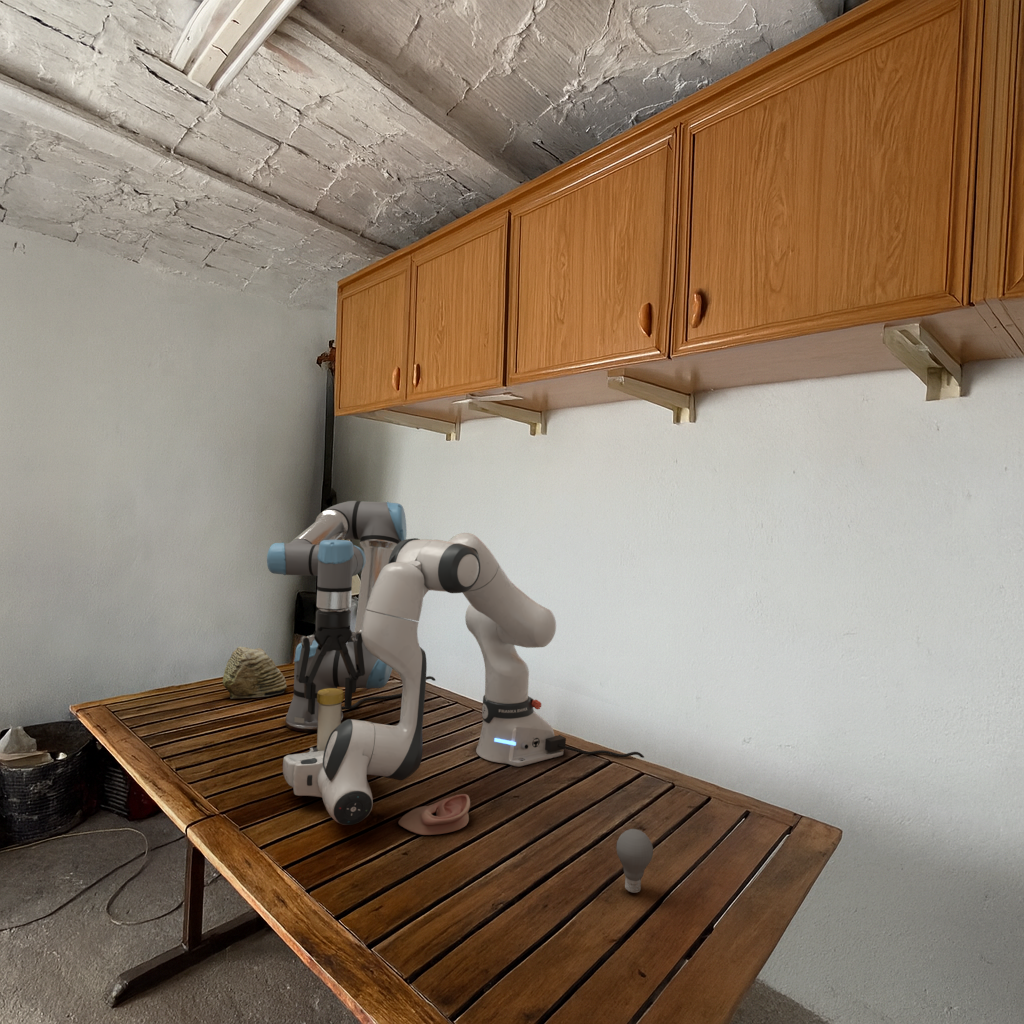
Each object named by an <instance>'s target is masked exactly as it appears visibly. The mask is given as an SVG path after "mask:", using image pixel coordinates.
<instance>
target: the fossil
mask: <svg viewBox="0 0 1024 1024" xmlns="http://www.w3.org/2000/svg"><path fill="white" fill-rule="evenodd" d="M222 676H223V677H222V685H223V687H224V688H225V690H226V691H228V693H229V698H230V699H250V698H264V697H271V696H275V695H281V694H284V693H285V691H286V689H287V687H288V686H287V680H286V678H285V676H284V674H283V673H282V672H281V669H279V668H278V667H277V665H276V663H275V662H274V660H273V659H272V658H271V657H270V656H269V655H268V654H267V653H266V652H265V650H264V649H263V648H260V647H258V648H251V647H247V646H246V647H245V646H238V647H237V648H236V649H235V650H233V651H232V653H231V656H230V657H229V659H228V660H227V663H226V666H225V668H224V671H223V675H222Z"/></svg>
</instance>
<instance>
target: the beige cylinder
mask: <svg viewBox="0 0 1024 1024" xmlns="http://www.w3.org/2000/svg"><path fill="white" fill-rule="evenodd" d="M342 702H343V701H342ZM342 702H341V703H338V704H332V705H325V704H320V703H319V705H318V731H317V732H316V733H317V734H316V747H317V749H318V751H324V750H325V747H326V744H327V741H328V738H329V736H330V734H331V733H332V731H333V730H334V729H335V728H336V727H337V726H339V725H340V724H341V706H343V704H342Z"/></svg>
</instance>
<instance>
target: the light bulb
mask: <svg viewBox="0 0 1024 1024" xmlns="http://www.w3.org/2000/svg"><path fill="white" fill-rule="evenodd" d="M615 849H616V854H617V857H618V859H619V861H620V863H621V865H622V867H623V873H624V874H623V875H624V876H625V878H624V888H625V890H627V891H628V892H630V893H634V894H635V893H639V892H640V891H641V889H642V887H641V886H642V879H643V877H644V875H645V871H646V868H647V867H648V866H649V864H650V863H651V861H652V859H653V855H654V847H653V843H652V841H651V838H649V836H648V835H647V834H646V833H645V832H643V831H642V830H641V829H636V828H629V829H627V830H625V831H623V832H622V833H621V834H620V835H619V837H618V839H617V841H616V847H615Z"/></svg>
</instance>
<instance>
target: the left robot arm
mask: <svg viewBox="0 0 1024 1024" xmlns="http://www.w3.org/2000/svg"><path fill="white" fill-rule="evenodd" d="M407 533H408V532H407V519H406V513H405V509H404V506H403V505H402V504H400V503H398V502H391V501H368V500H367V501H366V500H365V501H364V500H347V501H344V502H343V501H342V502H340V503H337V504H333V505H332V506H329V507H327V508H325V509H324V510H322V512H320V513H319V514H318V515H317V516H316V518H315V520H314V522H313V523H312V524H311V525H310V526H308V527H307V528H306V529H304V530H303V531H302V532H301V533H300V534H298V535H297V536H296V537H295V538H293V539H292V540H291V541H289V542H275V543H272V544H271V545H270V547H269V548H268V551H267V554H266V555H267V556H266V565H267V569H268V571H269V572H270V573H271V574H274V575H284V576H308V577H310V576H311V577H317V588H316V608H317V610H316V611H315V629H314V632H313V634H310V635H307V636H306V635H302V636H301V637H300V643H298V644H297V645H296V648H295V655H294V660H293V662H294V672H293V695H292V696H293V697H292V699H291V702H290V704H289V708H288V711H287V713H286V715H285V726H286V728H287V729H289V730H291V731H294V732H295V731H296V732H301V733H317V731H318V705H319V703H318V702H317V694H318V691H319V690H322V689H327V688H337V689H338V688H344V702H343V703H344V705H342V706H341V723H342V722H344V714H343V711H344V710H353V709H355V708H356V707H358V706H359V705H361V704H362V703H366V702H368V701H369V702H370V701H377V700H389V699H397V698H402V692H401V693H396V694H390V695H377V696H369V697H363V698H361V699H359V700H358V701H356V702H355V703H354V704H353V703H352V702H353V701H352V700H353V694H355V693H356V692H357V689H368V690H370V689H381V688H384V687H385V686H386V685H387V684H388V682H389V680H390V677H391V675H392V671H393V668H391V667H390V666H388V665H387V664H385V663H384V662H382V661H381V660H379V659H378V658H376V657H375V656H374V655H373V654H372V653H371V652H370V651H369V650H368V649H367V648H366V646H365V644H364V642H363V640H362V636H361V631H362V623H363V619H364V615H365V611H366V610H367V609H366V607H367V604H368V601H369V598H370V595H371V592H372V589H373V587H374V584H375V582H376V580H377V578H378V576H379V574H380V572H381V570H382V568H383V567H384V566H386V565H387V564H388V562H389V558H390V555H391V553H392V551H393V549H394V548H395V546H396V545H397V544H398V543H399V542H401V541H403V540H406V539H407V535H408V534H407ZM350 540H357V541H359V546H360V547H361V548H360V547H359V546H357V545H355V544H353V542H352V541H350ZM360 573H361V575H360V581H359V582H360V583H359V584H360V585H359V591H358V600H357V607H356V617H355V625H354V631H352V629H351V620H352V619H351V617H352V611H351V610H350V608H351V607H352V594H353V593H352V592H353V591H352V589H353V588H352V586H353V577H354V576H357V575H359V574H360ZM368 611H371V610H368ZM373 612H375V611H373ZM378 613H379V612H378ZM382 614H384V613H382ZM427 680H432V681H434V682H436V679H435V677H434V676H431V675H428V676H426V681H427Z"/></svg>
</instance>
